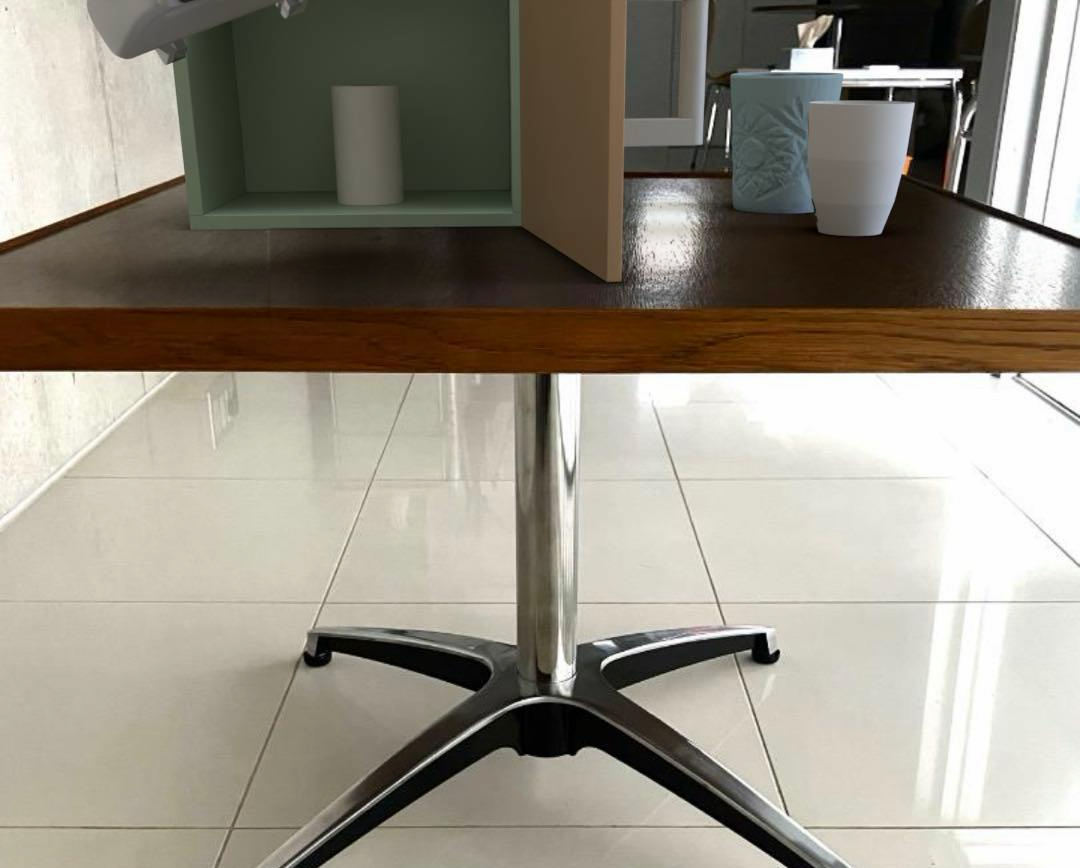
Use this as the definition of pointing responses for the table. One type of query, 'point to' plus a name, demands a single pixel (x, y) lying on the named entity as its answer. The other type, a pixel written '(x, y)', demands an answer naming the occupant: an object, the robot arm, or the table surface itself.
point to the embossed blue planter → (775, 138)
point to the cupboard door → (591, 121)
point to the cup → (856, 162)
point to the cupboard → (307, 124)
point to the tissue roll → (367, 144)
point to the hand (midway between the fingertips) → (229, 29)
